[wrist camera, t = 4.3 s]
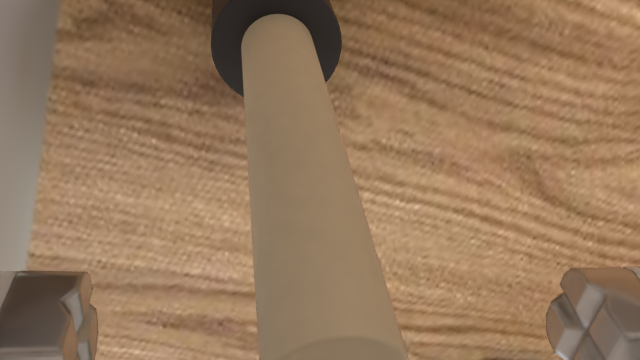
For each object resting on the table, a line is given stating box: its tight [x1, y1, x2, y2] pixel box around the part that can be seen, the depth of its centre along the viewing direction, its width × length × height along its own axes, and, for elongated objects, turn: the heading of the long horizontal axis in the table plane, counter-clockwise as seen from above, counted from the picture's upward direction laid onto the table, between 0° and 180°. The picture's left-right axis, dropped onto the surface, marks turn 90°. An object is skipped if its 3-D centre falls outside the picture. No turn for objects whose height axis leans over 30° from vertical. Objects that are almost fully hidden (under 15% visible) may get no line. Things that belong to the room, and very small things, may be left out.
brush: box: [211, 0, 409, 360], centre depth 15 cm, size 4×4×15 cm
